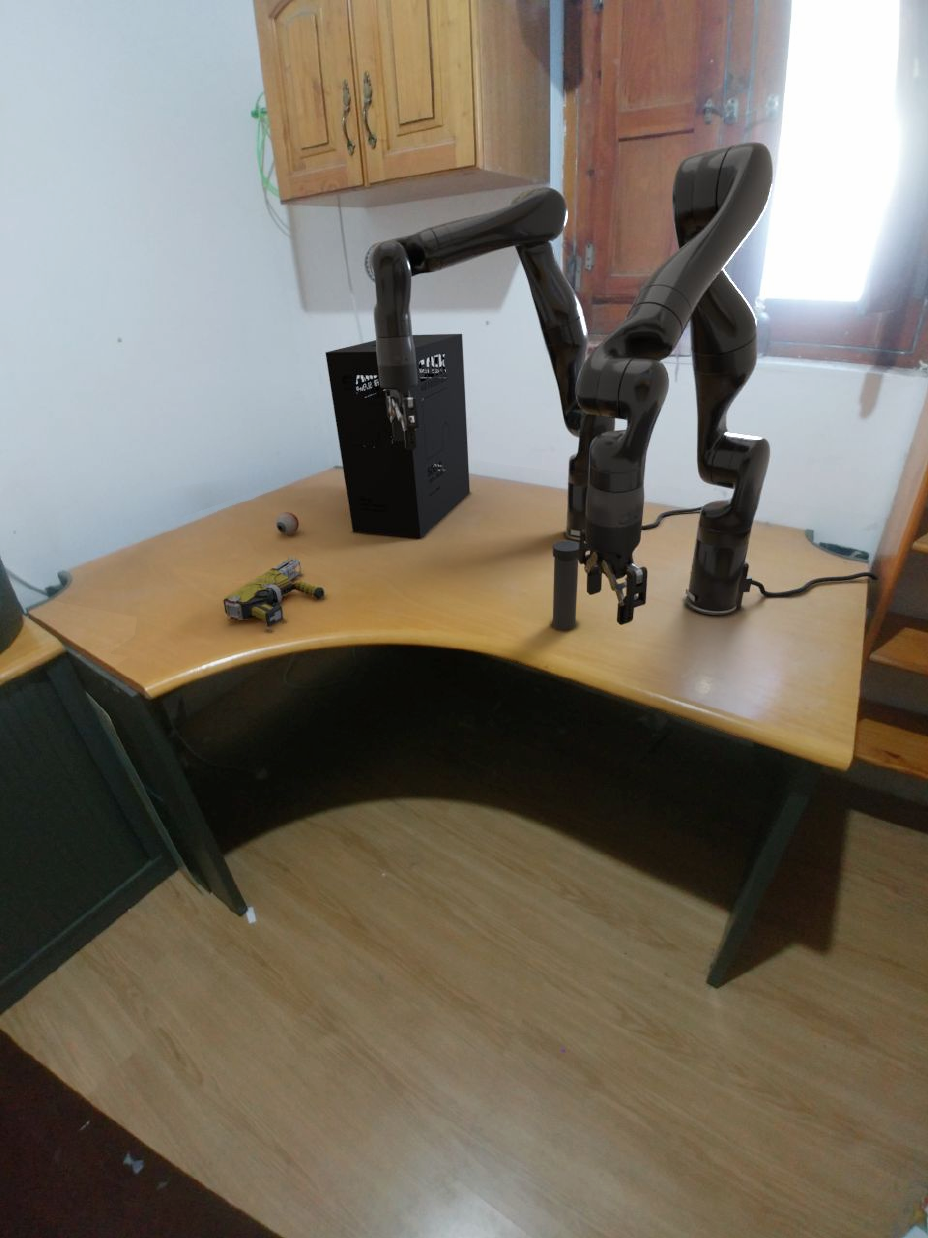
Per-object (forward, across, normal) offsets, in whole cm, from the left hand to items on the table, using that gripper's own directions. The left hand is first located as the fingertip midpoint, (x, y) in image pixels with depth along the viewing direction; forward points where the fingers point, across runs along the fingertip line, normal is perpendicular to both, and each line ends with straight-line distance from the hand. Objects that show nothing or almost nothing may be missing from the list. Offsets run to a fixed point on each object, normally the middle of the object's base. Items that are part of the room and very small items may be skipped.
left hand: (404, 444), depth 126 cm
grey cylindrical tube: (+29, -36, -18) cm, 50 cm away
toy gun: (+29, -1, +30) cm, 42 cm away
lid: (+13, -36, -18) cm, 43 cm away
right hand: (+14, -56, -14) cm, 60 cm away
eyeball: (+29, +39, +24) cm, 55 cm away
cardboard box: (+29, +39, -12) cm, 50 cm away
